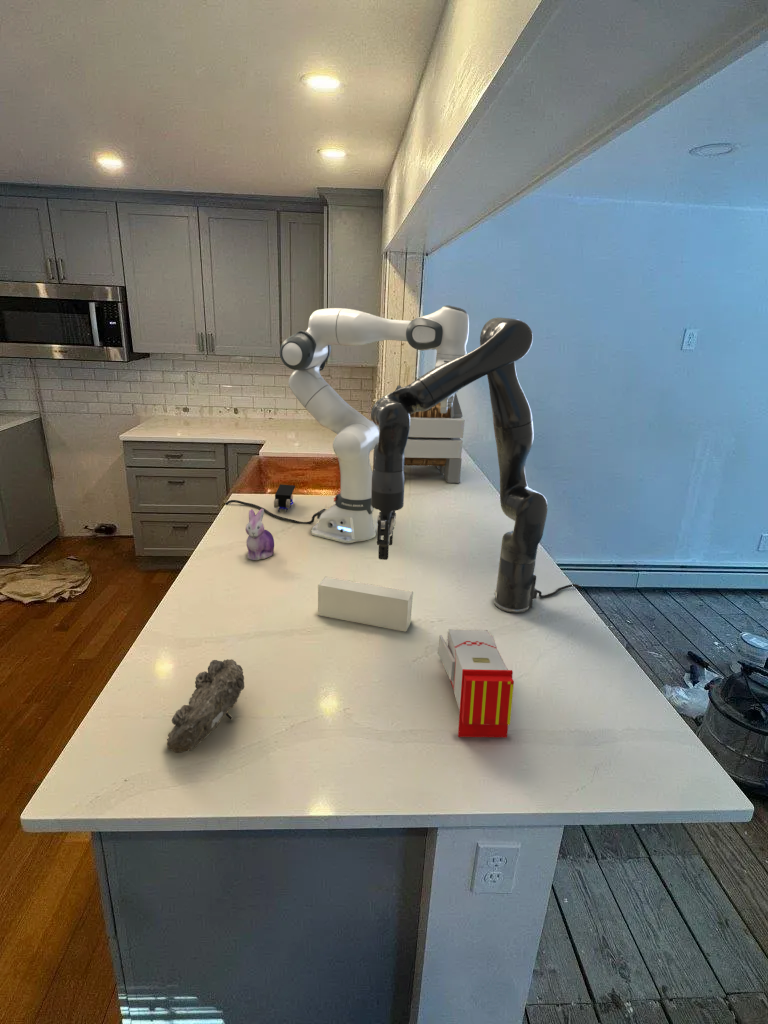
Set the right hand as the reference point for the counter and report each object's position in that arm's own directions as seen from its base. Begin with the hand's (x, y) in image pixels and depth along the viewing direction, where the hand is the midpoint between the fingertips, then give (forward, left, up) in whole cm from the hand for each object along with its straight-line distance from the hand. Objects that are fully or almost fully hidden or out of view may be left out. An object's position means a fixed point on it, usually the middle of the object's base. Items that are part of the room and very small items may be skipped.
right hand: (385, 551), depth 136 cm
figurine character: (+7, -91, -20) cm, 94 cm away
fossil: (+43, +23, -20) cm, 52 cm away
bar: (+4, -4, -20) cm, 21 cm away
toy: (-8, +30, -20) cm, 37 cm away
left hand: (-33, -40, +26) cm, 58 cm away
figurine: (+23, -49, -20) cm, 58 cm away
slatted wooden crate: (-65, -126, -20) cm, 143 cm away
